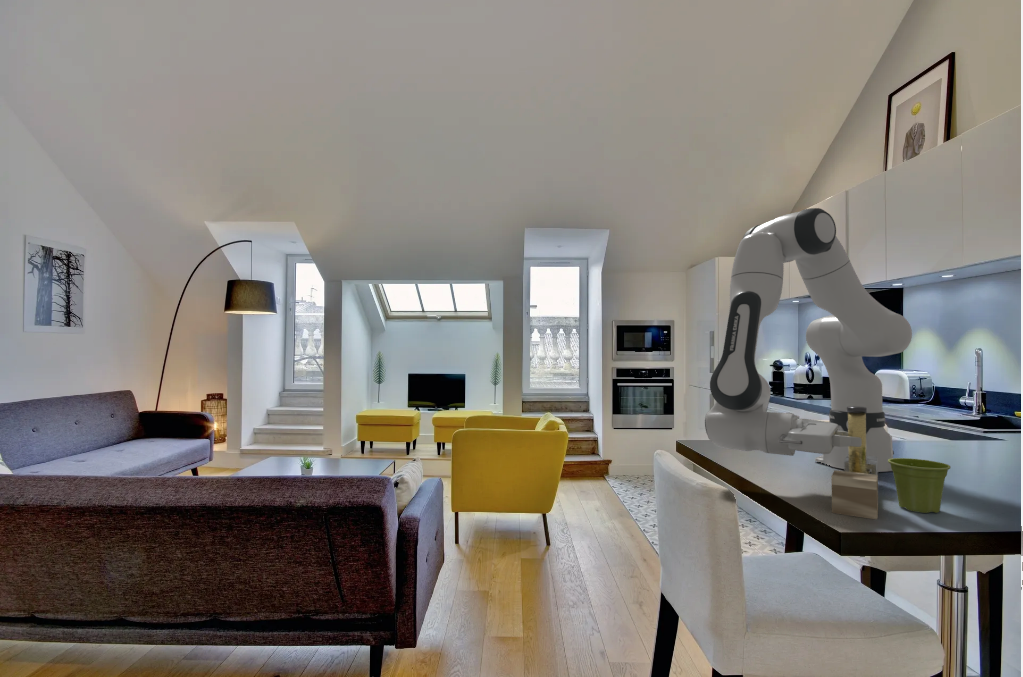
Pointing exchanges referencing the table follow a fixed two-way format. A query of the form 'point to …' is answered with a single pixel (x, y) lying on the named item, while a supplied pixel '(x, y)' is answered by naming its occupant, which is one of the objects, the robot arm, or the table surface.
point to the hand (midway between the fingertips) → (862, 440)
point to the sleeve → (871, 464)
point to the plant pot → (919, 483)
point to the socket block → (855, 494)
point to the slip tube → (859, 430)
